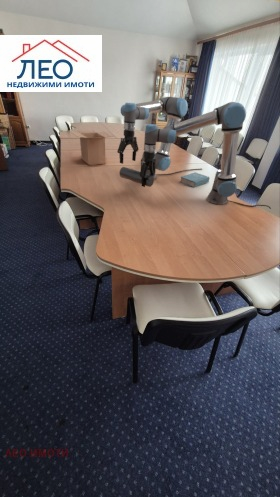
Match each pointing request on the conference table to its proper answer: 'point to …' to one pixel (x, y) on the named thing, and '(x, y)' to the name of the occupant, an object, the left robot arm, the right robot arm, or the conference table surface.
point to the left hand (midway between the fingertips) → (127, 161)
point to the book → (194, 179)
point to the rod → (136, 176)
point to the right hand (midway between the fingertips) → (146, 184)
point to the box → (92, 146)
